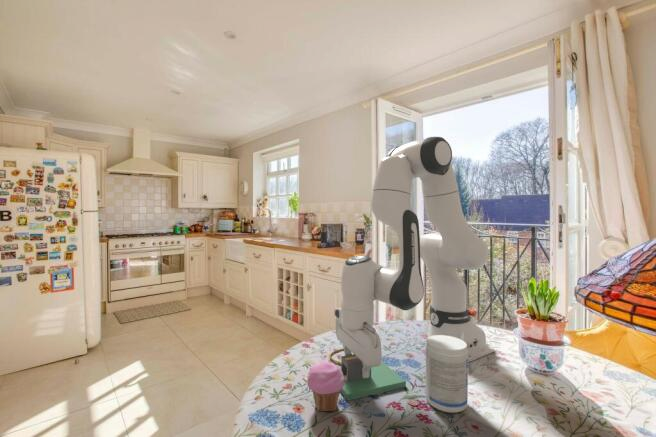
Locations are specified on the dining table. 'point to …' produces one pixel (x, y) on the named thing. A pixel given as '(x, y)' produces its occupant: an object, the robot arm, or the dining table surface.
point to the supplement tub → (446, 373)
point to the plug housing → (352, 367)
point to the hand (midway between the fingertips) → (356, 368)
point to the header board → (373, 383)
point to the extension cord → (333, 353)
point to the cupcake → (325, 385)
